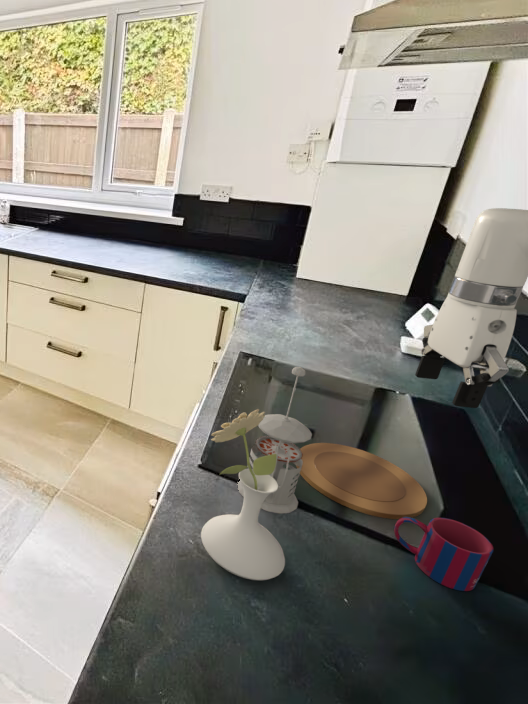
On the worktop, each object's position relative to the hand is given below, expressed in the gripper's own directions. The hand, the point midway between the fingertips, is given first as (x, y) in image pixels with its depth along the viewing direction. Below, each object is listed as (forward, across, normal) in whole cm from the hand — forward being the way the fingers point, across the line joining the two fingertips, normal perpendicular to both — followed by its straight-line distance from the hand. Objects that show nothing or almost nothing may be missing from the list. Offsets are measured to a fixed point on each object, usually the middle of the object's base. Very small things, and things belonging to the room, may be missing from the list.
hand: (444, 391), depth 75 cm
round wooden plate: (+21, +2, +7) cm, 22 cm away
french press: (+21, -7, +25) cm, 33 cm away
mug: (+21, -17, +5) cm, 28 cm away
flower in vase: (+21, -22, +34) cm, 45 cm away
